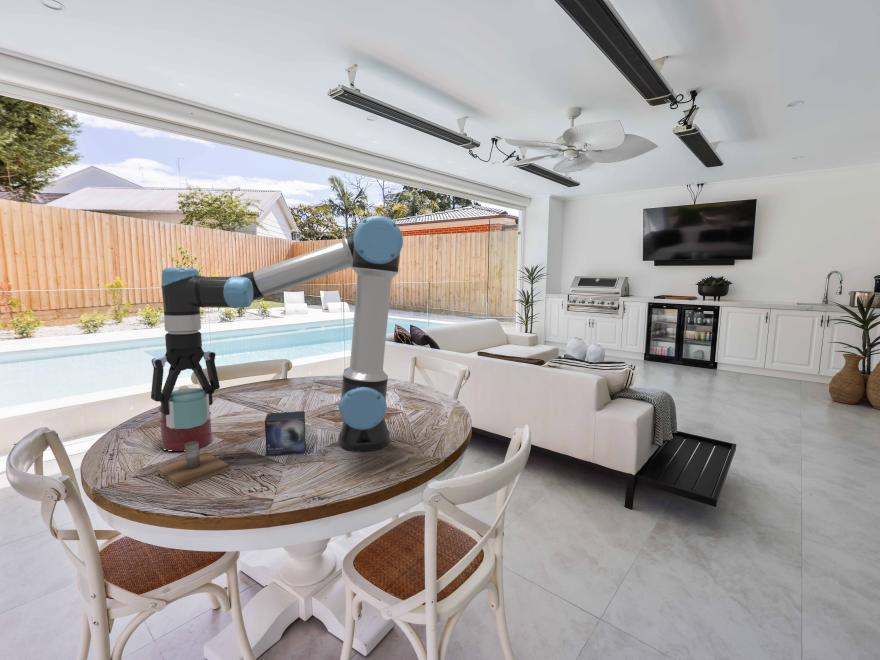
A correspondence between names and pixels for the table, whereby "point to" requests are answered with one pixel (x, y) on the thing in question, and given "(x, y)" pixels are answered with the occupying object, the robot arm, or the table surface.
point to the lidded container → (189, 407)
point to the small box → (285, 433)
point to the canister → (184, 434)
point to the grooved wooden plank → (192, 467)
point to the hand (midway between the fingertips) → (188, 422)
